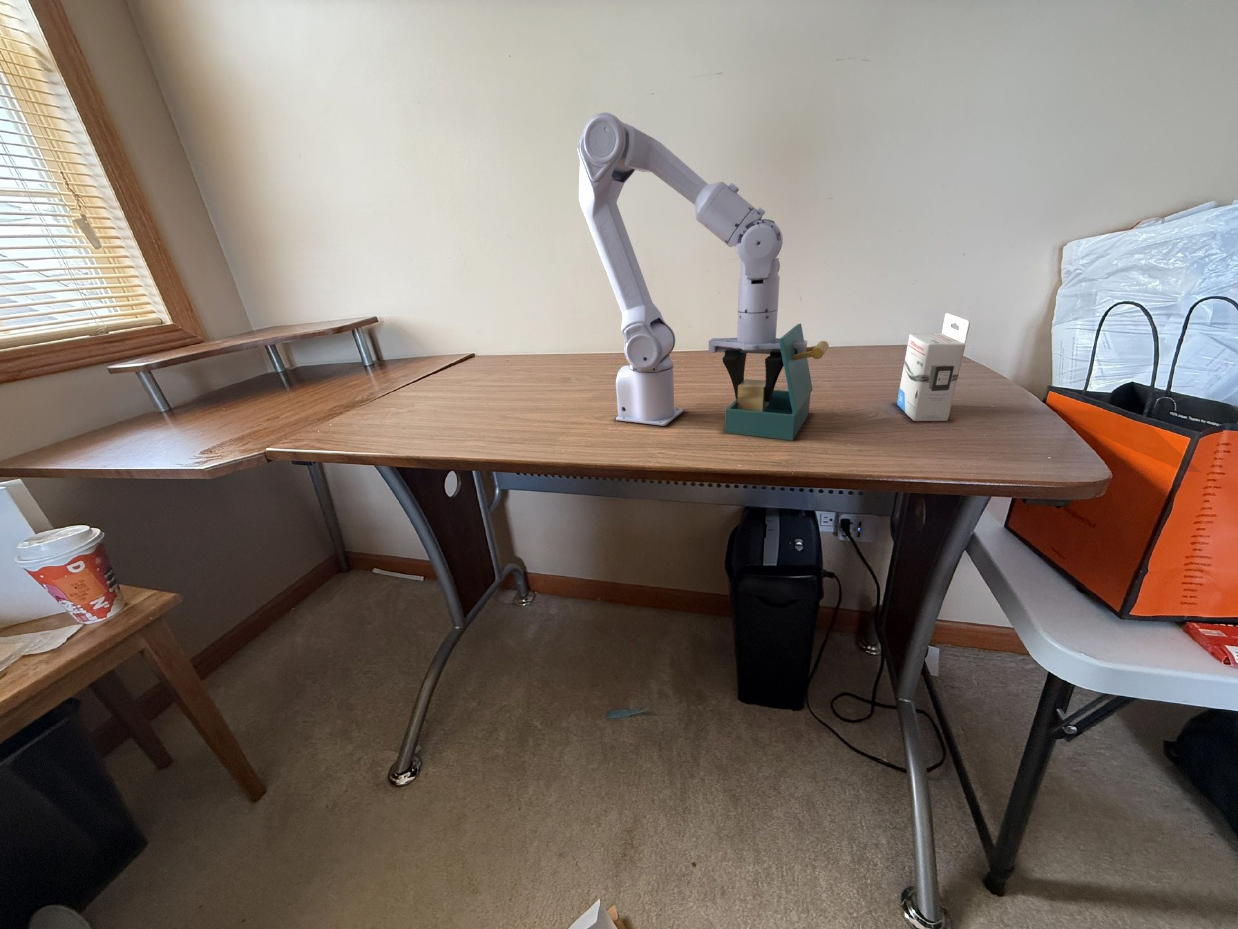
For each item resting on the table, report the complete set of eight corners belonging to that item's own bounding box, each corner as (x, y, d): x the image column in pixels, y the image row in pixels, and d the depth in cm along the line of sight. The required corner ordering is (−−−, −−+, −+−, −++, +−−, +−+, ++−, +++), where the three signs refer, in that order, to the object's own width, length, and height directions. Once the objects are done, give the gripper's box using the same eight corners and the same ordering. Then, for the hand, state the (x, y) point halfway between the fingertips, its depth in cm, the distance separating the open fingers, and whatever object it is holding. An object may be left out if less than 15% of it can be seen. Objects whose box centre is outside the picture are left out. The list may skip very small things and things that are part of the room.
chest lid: (778, 339, 65) (814, 331, 62) (797, 324, 74) (828, 316, 72) (792, 413, 68) (827, 409, 65) (808, 390, 77) (839, 385, 75)
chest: (724, 432, 75) (725, 409, 73) (747, 408, 84) (748, 387, 82) (792, 440, 70) (794, 416, 68) (808, 414, 79) (810, 392, 77)
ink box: (895, 404, 80) (911, 313, 74) (927, 404, 79) (946, 312, 73) (913, 422, 73) (932, 322, 67) (949, 422, 72) (972, 320, 66)
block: (737, 409, 76) (738, 385, 75) (744, 402, 79) (745, 379, 78) (762, 412, 74) (763, 387, 73) (768, 404, 78) (770, 380, 76)
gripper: (701, 314, 71) (701, 402, 77) (803, 314, 64) (795, 410, 70) (717, 307, 77) (716, 390, 82) (813, 307, 70) (804, 397, 75)
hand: (753, 398), depth 76 cm, fingers closed on block, 4 cm apart
